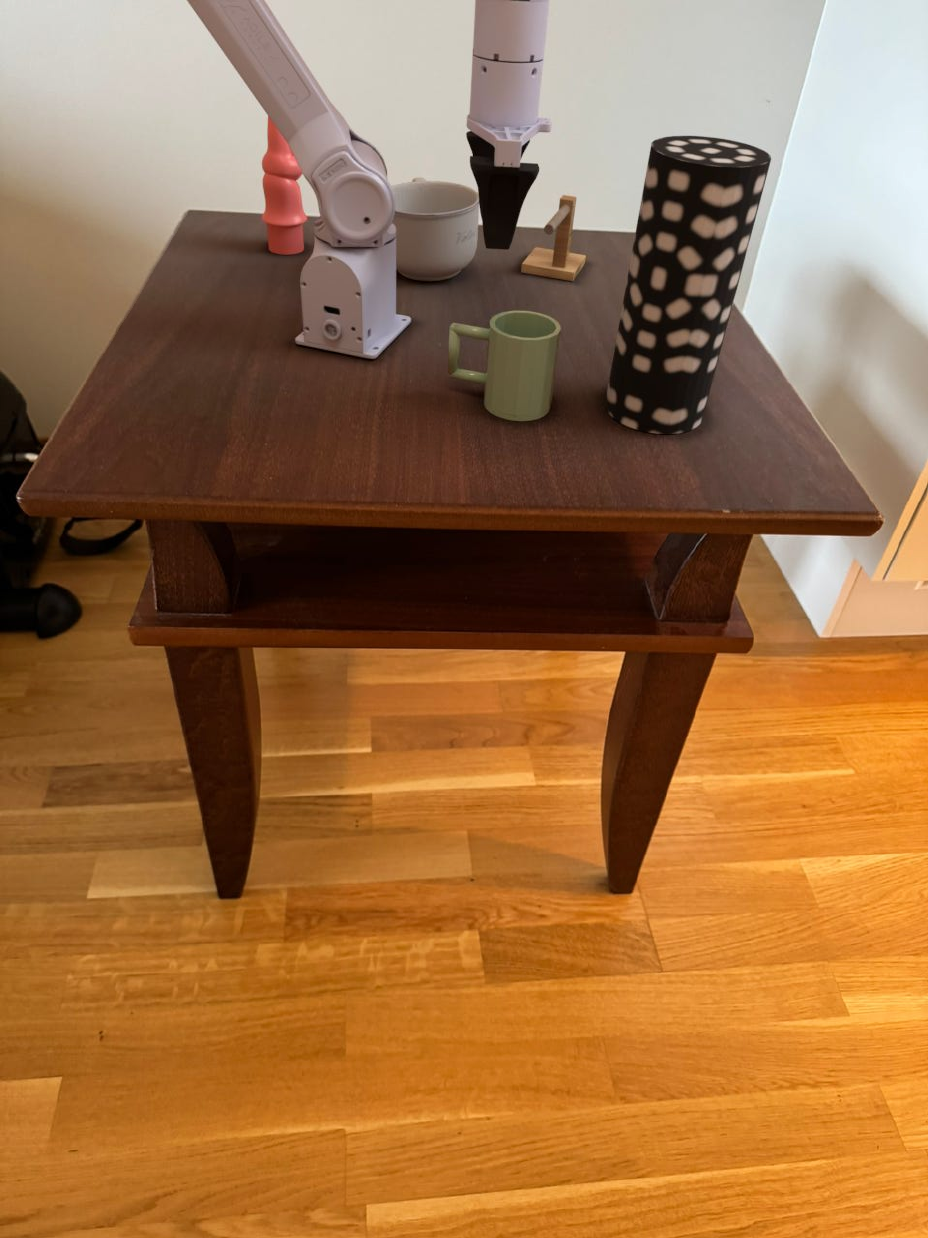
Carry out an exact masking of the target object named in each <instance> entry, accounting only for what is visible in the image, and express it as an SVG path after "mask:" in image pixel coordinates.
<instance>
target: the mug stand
mask: <svg viewBox="0 0 928 1238" xmlns="http://www.w3.org/2000/svg"><path fill="white" fill-rule="evenodd" d="M558 203H559V204H558V205H559V206H558V210H557V211H556V212H555V214H554V215H553V216H552V217H551V218H550V220H548V222H547V223H546V224H545V226H544V227H543V230H544V233H545V234H546V235H548V236H550V235H552V234H553V233H554V232H555V236H554V245H553V249H549V248H543V247H538V246H536V247H534V248H533V249H532V251H531V252H530V253H529V254H528V255H527V257H526V258H525V259H524V260H523V262H522V263H521V267H520V273H522V274H528V275H534V276H540V277H545V278H551V279H557V280H561V281H568V282H574V281H575V279H576V278H577V276H578V275H579V273H580V272H581V270H582V269H583V267H584V266H585V264H586V259H587V255H585V254H579V253H574V252H570V250H571V244H572V243H571V242H572V234H573V229H574V221H575V213H576V206H577V205H576V204H577V197H576V196H574V195H567V194H562V196H561V197H559V202H558Z"/></svg>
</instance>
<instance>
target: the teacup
mask: <svg viewBox="0 0 928 1238" xmlns="http://www.w3.org/2000/svg"><path fill="white" fill-rule="evenodd" d="M391 188H392V190H393V193H394V197H395V214H394V218H393V221H392V223H393V224H394V225H395V227H396V271H397V272H398V273H399V274H400V275H402V276H404V277H405V278H407V279H410V280H414V281H415V280H416V281H420V282H438V281H444V280H448V279H451V278H453V277H455V276H457V275H458V274H459V273H460V272H461V271H462V270H463V269H465V268H466V267H467V266H468V265H469V264H470V263H471V262H472V260H473V259H474V257H475V255H476V252H477V247H478V241H479V240H478V239H479V238H478V237H479V219H480V217H479V216H480V215H479V212H480V206H479V196H478V191H477V190H475V189H474V188H472V187H470V186H467V185H464V184H461V183H455V182H451V181H442V180H441V181H439V180H434V181H433V180H426V178H425V177H414V178H413V179H412V180H411V181H408V182H402V183H401V182H400V183H398V184H397V183H396V184H392V185H391Z"/></svg>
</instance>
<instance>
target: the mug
mask: <svg viewBox="0 0 928 1238" xmlns="http://www.w3.org/2000/svg"><path fill="white" fill-rule="evenodd" d="M448 332H449V334H448V351H447V352H448V354H447V376H448V377H449V378H450V379H454V380H458V381H459V380H460V381H464V382H469V383H474V384H478V385H483V386H484V390H483V405H484V408H485V410H487V412H488V413H490V414H492V415H493V416H495V417H498V418H500V419H503V420H507V421H514V422H531V421H535V420H536V421H537V420H539V419H542V418H543V417H545V416H546V415H548V413H549V412H550V410H551V404H552V402H553V401H552V400H553V395H554V394H553V393H554V387H555V385H554V384H555V377H556V371H557V363H558V355H559V348H560V340H561V334H562V326H561V324H560V323H559V321H557V320H556V319H555V318H553V316H549V315H547V314H544V313H541V312H536V311H531V310H509V311H503V312H500V313H497V314H495V315H493V316H492V317H491V319H489V323H488V328H486V327H480V326H476V325H469V324H464V323H459V322H452V323H451V324H450V325H449V331H448ZM461 337H466V338H471V339H475V340H482V341H487V349H486V360H485V361H486V363H485V373H484V372H479V371H475V370H470V369H465V368H461V367H459V366H460V365H459V364H460V349H461V348H460V346H461Z"/></svg>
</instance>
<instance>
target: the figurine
mask: <svg viewBox="0 0 928 1238" xmlns="http://www.w3.org/2000/svg"><path fill="white" fill-rule="evenodd" d="M266 132H267V133H266V137H267V149H266V152H265V154H264V155H263V157H262V160H261V169H262V171H263V172H264V174H263V177H262V181H261V182H262V189H263V195H264V196H263V197H264V201H265V202H264V203H265V204H264V205H265V206H264V207H265V208H264V212H263V214H262V215H261V221H262V222H263V223H265V224H266V231H267V243H268V250H269V251H270V252H271V253H273V254H276V255H280V256H281V255H282V256H283V255H284V256H289V255H290V256H291V255H296V254H300V253H302V252H303V251H304V250H305V241H304V240H305V239H304V228H303V224H304V223H306V222H307V221H308V217H307V215H306V213H305V210H304V205H303V198H302V197H303V196H302V190H301V187H300V185H299V183H298V180H299V179H300V178H301V177H302V175H303V173H302V171H301V169H300V167H299V165H298V163H297V161H296V159H295V157H294V155H293V153H292V151H291V149H290V147H289V145H288V143H287V142H286V140H285V139H284V137H283V136H282V135H281V133H280V132H279V130H278V129H277V128H276V126H275V125H274V123H273V122H272V120H271V119H270V118H269V116H268V115H267V130H266Z"/></svg>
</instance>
